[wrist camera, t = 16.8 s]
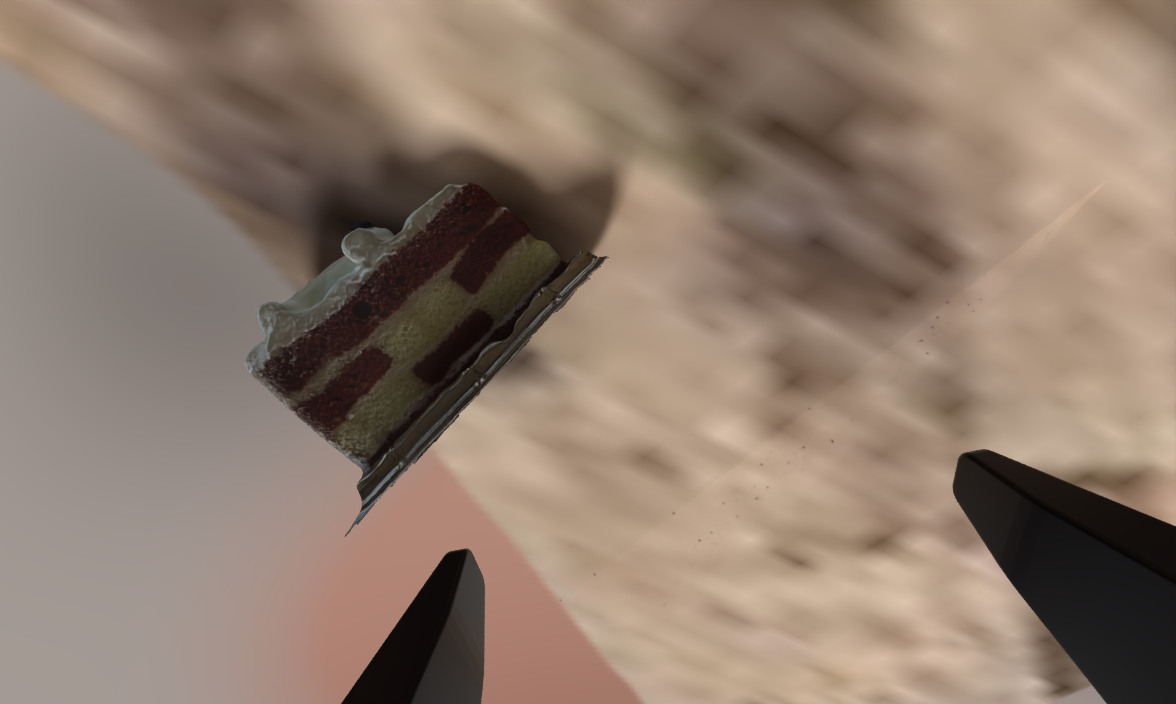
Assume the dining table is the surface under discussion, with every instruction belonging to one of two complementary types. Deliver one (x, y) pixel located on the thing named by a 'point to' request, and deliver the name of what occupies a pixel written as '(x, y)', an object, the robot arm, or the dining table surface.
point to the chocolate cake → (411, 328)
